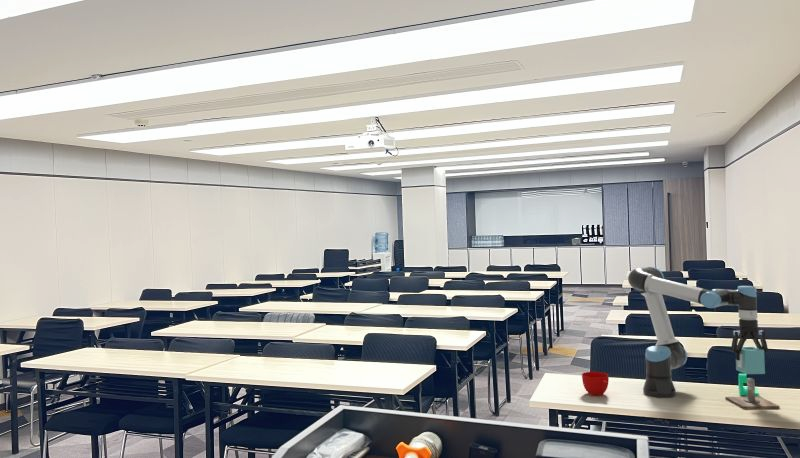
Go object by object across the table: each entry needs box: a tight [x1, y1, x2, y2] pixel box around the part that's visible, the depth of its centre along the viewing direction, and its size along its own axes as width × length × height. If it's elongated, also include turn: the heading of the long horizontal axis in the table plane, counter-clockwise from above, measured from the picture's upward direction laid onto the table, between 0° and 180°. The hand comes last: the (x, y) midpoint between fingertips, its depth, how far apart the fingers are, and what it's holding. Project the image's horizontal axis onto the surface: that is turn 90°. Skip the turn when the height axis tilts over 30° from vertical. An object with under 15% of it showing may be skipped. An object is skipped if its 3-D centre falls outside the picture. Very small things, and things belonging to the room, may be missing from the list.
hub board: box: [724, 377, 781, 410], centre depth 266 cm, size 16×16×12 cm
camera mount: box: [738, 373, 759, 396], centre depth 281 cm, size 12×8×10 cm, turn 152°
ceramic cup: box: [581, 371, 610, 397], centre depth 288 cm, size 13×17×10 cm
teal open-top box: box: [735, 346, 766, 375], centre depth 266 cm, size 8×8×11 cm
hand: (750, 366), depth 266 cm, fingers closed on teal open-top box, 8 cm apart
